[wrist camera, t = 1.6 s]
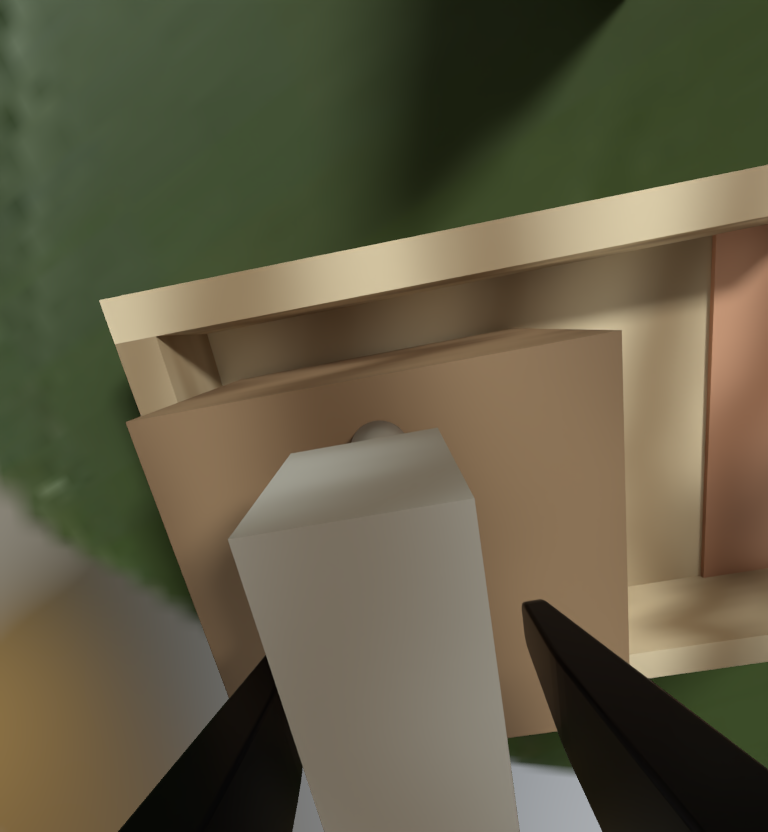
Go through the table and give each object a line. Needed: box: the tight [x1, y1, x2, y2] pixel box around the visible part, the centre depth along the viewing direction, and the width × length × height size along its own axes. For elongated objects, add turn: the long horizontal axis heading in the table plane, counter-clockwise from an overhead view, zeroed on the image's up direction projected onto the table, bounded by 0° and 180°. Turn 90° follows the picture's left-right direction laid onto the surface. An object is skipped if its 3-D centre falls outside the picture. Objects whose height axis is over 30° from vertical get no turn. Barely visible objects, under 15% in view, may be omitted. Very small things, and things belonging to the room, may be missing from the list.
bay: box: [99, 165, 768, 678], centre depth 13 cm, size 22×16×4 cm
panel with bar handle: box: [126, 328, 629, 832], centre depth 9 cm, size 10×10×10 cm
